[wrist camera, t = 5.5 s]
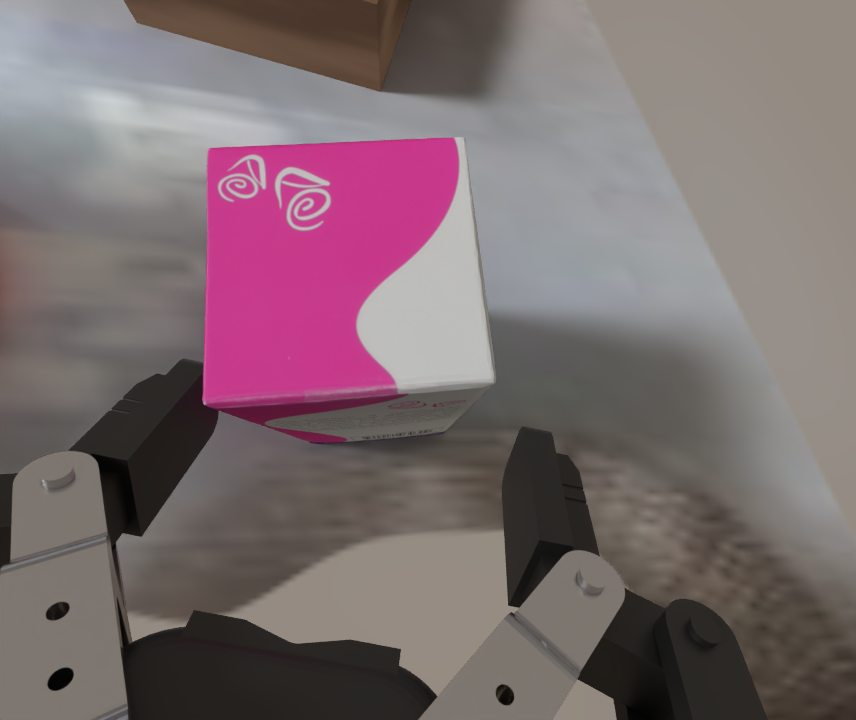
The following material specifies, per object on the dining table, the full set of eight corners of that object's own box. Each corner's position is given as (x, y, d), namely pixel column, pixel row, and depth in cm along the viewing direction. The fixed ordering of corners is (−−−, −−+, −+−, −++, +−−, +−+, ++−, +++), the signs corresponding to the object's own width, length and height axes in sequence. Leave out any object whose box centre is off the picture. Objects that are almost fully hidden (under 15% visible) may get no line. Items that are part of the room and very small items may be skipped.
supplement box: (435, 298, 22) (476, 127, 11) (447, 434, 21) (507, 402, 10) (301, 306, 21) (198, 136, 10) (305, 446, 20) (195, 425, 9)
